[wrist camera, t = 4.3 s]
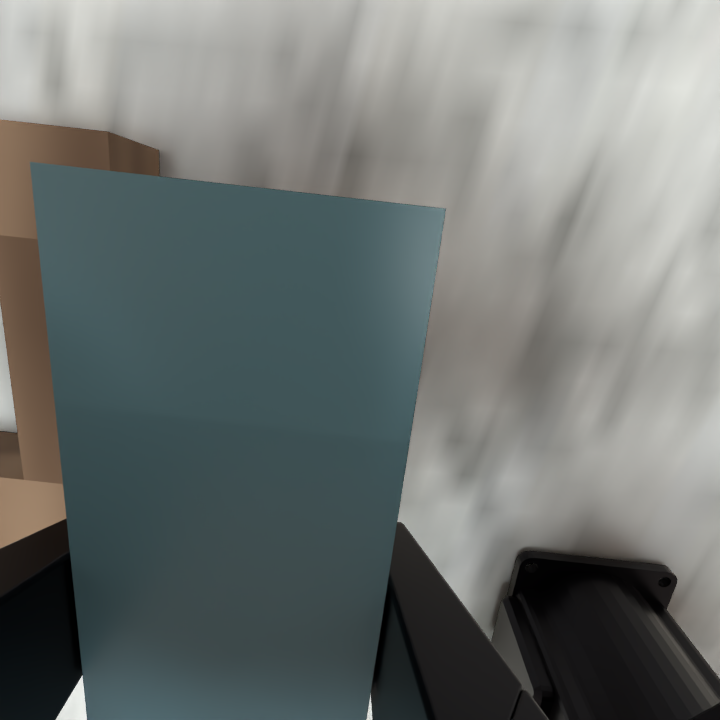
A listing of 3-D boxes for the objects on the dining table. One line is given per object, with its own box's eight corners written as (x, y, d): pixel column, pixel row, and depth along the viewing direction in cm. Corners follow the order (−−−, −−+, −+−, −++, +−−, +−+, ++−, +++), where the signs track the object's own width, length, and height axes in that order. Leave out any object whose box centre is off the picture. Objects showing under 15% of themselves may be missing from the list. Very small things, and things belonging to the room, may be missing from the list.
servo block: (412, 217, 8) (445, 207, 4) (349, 682, 11) (339, 893, 7) (183, 191, 8) (29, 161, 4) (188, 664, 11) (103, 869, 7)
